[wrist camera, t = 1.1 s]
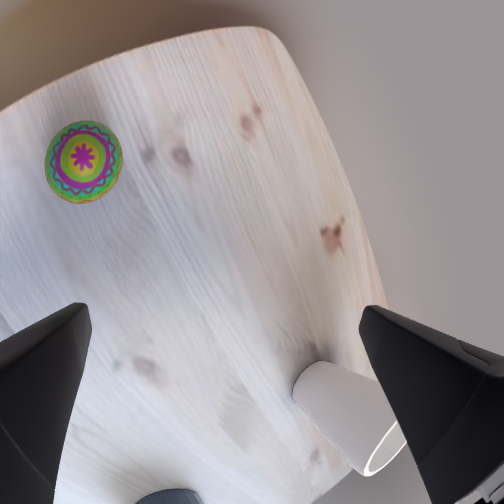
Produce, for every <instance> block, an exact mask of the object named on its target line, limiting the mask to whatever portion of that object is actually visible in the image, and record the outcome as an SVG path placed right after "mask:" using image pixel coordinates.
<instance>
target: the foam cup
mask: <svg viewBox="0 0 504 504" xmlns="http://www.w3.org/2000/svg"><path fill="white" fill-rule="evenodd" d="M292 397H293V400H294V402H295V403H296V404H297V406H298V407H299V408H300V409H301V411H302V412H303V413H304V414H305V415H306V416H307V417H308V418H309V420H310V421H311V422H312V423H313V424H314V425H315V426H316V427H317V428H318V430H319V431H320V432H321V433H322V434H323V435H324V436H325V437H326V438H327V439H328V440H329V442H330V443H331V444H332V445H333V446H334V447H335V448H336V449H337V450H338V451H339V452H340V453H341V454H342V455H343V456H344V458H345V459H346V460H347V461H348V464H349V465H350V466H351V467H352V468H354V469H355V470H357V471H358V472H359V473H360V474H362V475H363V476H372V475H373V474H375V473H376V472H378V471H379V470H381V469H382V468H383V467H384V466H385V465H386V464H388V463H389V462H390V461H391V460H392V459H393V458H394V457H395V456H396V454H397V453H398V452H399V451H400V450H401V448H402V447H403V446H404V445H405V444H406V442H407V441H406V439H405V437H404V434H403V432H402V430H401V428H400V426H399V423H398V421H397V419H396V417H395V415H394V412H393V410H392V408H391V406H390V404H389V402H388V400H387V397H386V395H385V393H384V391H383V389H382V387H381V385H380V383H379V382H378V381H375V380H372V379H370V378H367V377H365V376H362V375H360V374H357V373H354V372H352V371H349V370H347V369H344V368H342V367H340V366H337V365H335V364H332V363H330V362H327V361H318V362H316V363H314V364H312V365H311V366H309V367H307V368H306V370H305V371H304V372H303V373H302V374H301V375H300V376H299V377H298V379H297V381H296V383H295V385H294V387H293V393H292Z"/></svg>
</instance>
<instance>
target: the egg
mask: <svg viewBox="0 0 504 504" xmlns="http://www.w3.org/2000/svg"><path fill="white" fill-rule="evenodd" d="M122 159H123V158H122V149H121V146H120V143H119V141H118V139H117V137H116V136H115V134H114V133H113V132H112V131H111V130H110V129H109V128H108V127H106V126H105V125H103V124H101V123H98V122H94V121H80V122H76V123H73V124H71V125H69V126H67V127H65V128H64V129H62V130H61V131H60V132H59V133H58V134H57V135H56V136H55V137H54V139H53V140H52V142H51V144H50V145H49V148H48V150H47V153H46V157H45V174H46V178H47V181H48V183H49V185H50V187H51V188H52V190H53V191H54V192H55V193H56V194H57V195H58V196H59V197H61V198H62V199H64V200H66V201H68V202H72V203H78V204H83V203H89V202H93V201H95V200H97V199H99V198H101V197H103V196H104V195H105V194H107V193H108V192H109V191H110V190H111V188H112V187H113V186H114V184H115V183H116V181H117V179H118V177H119V175H120V172H121V168H122Z"/></svg>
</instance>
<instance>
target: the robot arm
mask: <svg viewBox="0 0 504 504" xmlns="http://www.w3.org/2000/svg"><path fill="white" fill-rule="evenodd" d="M91 334H92V325H91V320H90V315H89V310H88V306H87V305H86V304H85V303H77V302H75V303H72V304H70V305H68V306H67V307H65V308H63V309H61V310H59V311H57V312H55V313H53V314H51V315H49V316H47V317H46V318H44V319H42V320H40V321H38V322H36V323H34V324H32V325H31V326H29V327H27V328H25V329H23V330H21V331H19V332H18V333H16V334H14V335H12V336H10V337H9V338H7V339H5V340H3V341H1V342H0V504H53V500H54V493H55V491H54V490H55V486H56V480H57V474H58V469H59V464H60V459H61V454H62V449H63V445H64V441H65V436H66V432H67V428H68V424H69V420H70V416H71V413H72V409H73V405H74V402H75V398H76V395H77V391H78V388H79V385H80V382H81V378H82V375H83V371H84V367H85V362H86V357H87V352H88V347H89V343H90V338H91ZM359 334H360V336H361V339H362V342H363V344H364V347H365V350H366V352H367V355H368V358H369V361H370V363H371V366H372V368H373V370H374V372H375V374H376V377H377V379H378V381H379V383H380V385H381V387H382V389H383V391H384V393H385V395H386V397H387V400H388V402H389V404H390V406H391V408H392V410H393V412H394V415H395V417H396V419H397V421H398V423H399V426H400V428H401V430H402V432H403V434H404V437H405V439H406V441H407V444H408V446H409V448H410V450H411V453H412V455H413V457H414V460H415V462H416V465H418V466H417V467H418V470H419V472H420V475H421V477H422V480H423V482H424V485H425V487H426V489H427V492H428V495H429V497H430V500H431V502H432V504H458V503H460V502H461V501H463V500H464V499H466V498H467V497H469V496H470V495H471V494H473V493H474V492H476V491H477V490H478V491H479V492H480V494H481V495H482V498H481V499H480V500H478V501H477V502H476V503H474V504H504V356H501V355H498V354H495V353H492V352H489V351H487V350H484V349H481V348H479V347H476V346H474V345H471V344H469V343H466V342H464V341H461V340H457V339H456V338H454V337H452V336H449V335H447V334H444V333H442V332H440V331H437V330H435V329H432V328H430V327H428V326H425V325H423V324H421V323H418V322H416V321H413V320H411V319H409V318H406V317H404V316H402V315H399V314H397V313H394V312H392V311H390V310H387V309H385V308H382V307H380V306H378V305H369V306H366V307H365V308H364V311H363V314H362V318H361V321H360V324H359Z"/></svg>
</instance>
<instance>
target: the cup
mask: <svg viewBox="0 0 504 504" xmlns="http://www.w3.org/2000/svg"><path fill="white" fill-rule="evenodd" d="M137 504H204V503H203V501H202V499H201V498H200V496H199V495H198V494H197V493H195V492H193V491H190V490H186V489H171V490H164V491H160V492H156V493H153V494H151V495H149V496H146V497H145V498H143V499H141V500H140V501H139V502H138V503H137Z"/></svg>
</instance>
